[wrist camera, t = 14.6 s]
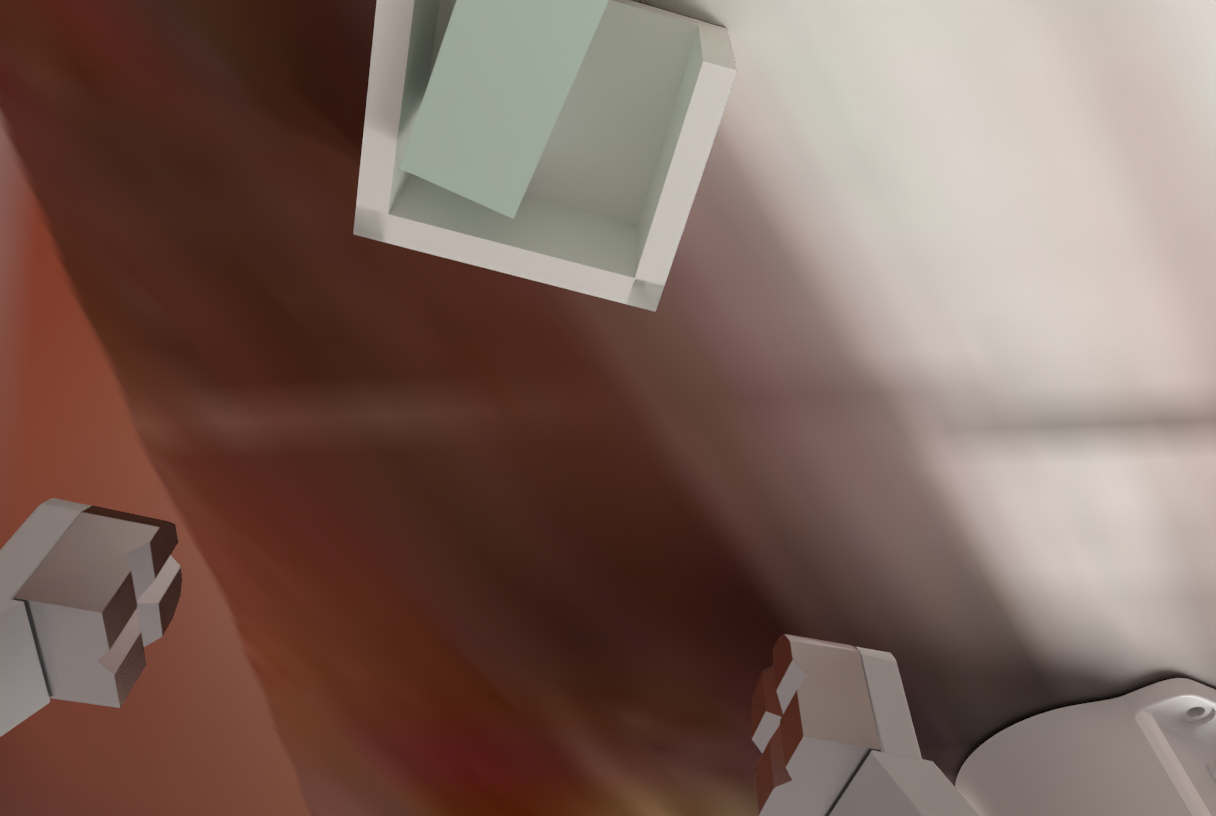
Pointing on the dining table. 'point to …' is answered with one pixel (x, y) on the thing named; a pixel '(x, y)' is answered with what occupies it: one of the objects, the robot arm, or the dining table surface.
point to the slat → (498, 95)
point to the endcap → (559, 154)
